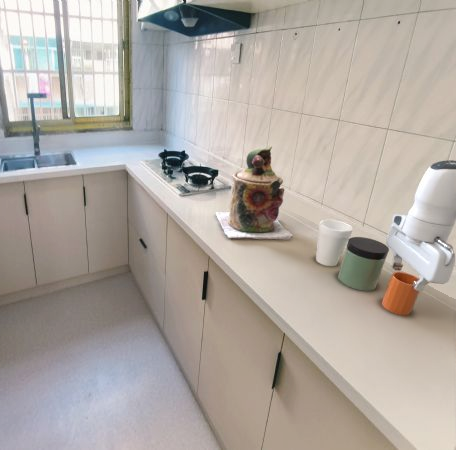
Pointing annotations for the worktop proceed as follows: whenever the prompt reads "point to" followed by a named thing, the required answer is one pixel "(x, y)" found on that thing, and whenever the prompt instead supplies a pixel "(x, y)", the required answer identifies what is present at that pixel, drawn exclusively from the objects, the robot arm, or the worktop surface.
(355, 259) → the jar
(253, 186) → the cookie jar
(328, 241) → the foam cup
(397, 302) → the cup
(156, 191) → the worktop surface
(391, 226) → the robot arm
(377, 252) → the jar lid
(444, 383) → the worktop surface
